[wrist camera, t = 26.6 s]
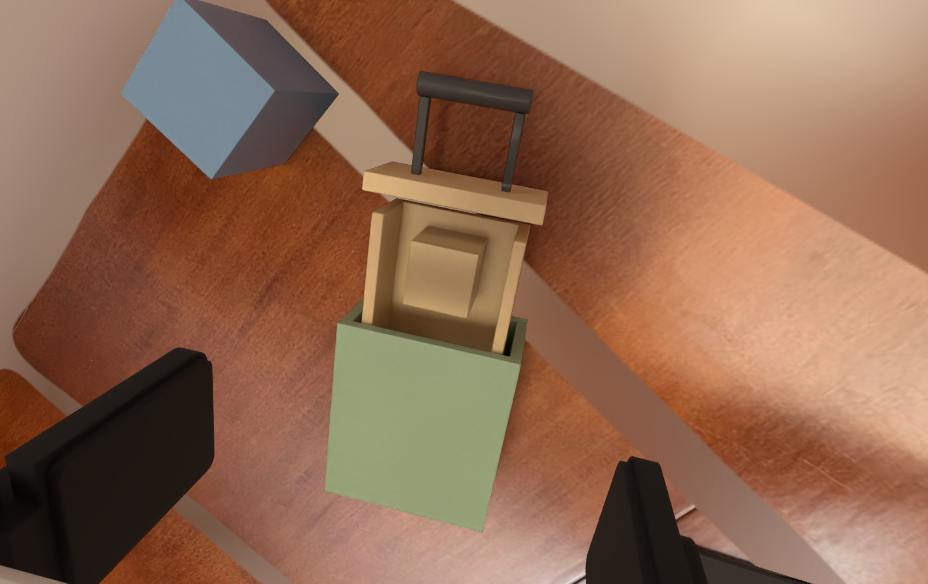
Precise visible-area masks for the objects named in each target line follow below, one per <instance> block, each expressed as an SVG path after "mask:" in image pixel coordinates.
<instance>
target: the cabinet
mask: <svg viewBox="0 0 928 584" xmlns="http://www.w3.org/2000/svg"><path fill="white" fill-rule="evenodd" d="M363 302H364V298H363V299H362V300H361V301H360V302H359V303H358V304H357V305H356V306H355V307H354V308H352V309H351V310H350V311H349V312H348V313H347V314H346V315H345V316H344V317H343V318H342V319H341V320H340V321H339V322H338V323H337V336H336V349H335V362H334V375H333V388H332V401H331V415H330V428H329V441H328V454H327V467H326V480H325V491H327V492H331V493H335V494H339V495H343V496H346V497H350V498H354V499H358V500H362V501H365V502H369V503H373V504H377V505H380V506H384V507H388V508H392V509H396V510H399V511H403V512H407V513H411V514H415V515H418V516H422V517H426V518H430V519H433V520H437V521H441V522H445V523H449V524H452V525H456V526H460V527H464V528H467V529H471V530H475V531H479V532H483V528H484V524H485V520H486V515H487V511H488V507H489V502H490V498H491V493H492V489H493V485H494V480H495V476H496V472H497V467H498V463H499V459H500V454H501V450H502V446H503V441H504V437H505V433H506V428H507V424H508V420H509V415H510V411H511V406H512V402H513V398H514V393H515V389H516V385H517V380H518V376H519V372H520V367H521V362H522V355H523V348H524V341H525V334H526V327H527V319H522V318H517V317H513V316H511V320H510V325H509V329H508V334H507V339H506V343H505V348H504V353H503V355H500V354H495V353H491V352H486V351H482V350H478V349H473V348H469V347H464V346H460V345H456V344H451V343H447V342H442V341H438V340H433V339H429V338H425V337H420V336H416V335H411V334H407V333H403V332H398V331H394V330H389V329H385V328H380V327H376V326H372V325H367V324H363V323H362V313H363Z"/></svg>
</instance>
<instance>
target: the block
mask: <svg viewBox="0 0 928 584" xmlns="http://www.w3.org/2000/svg"><path fill="white" fill-rule="evenodd" d="M487 241H488V238H484V237H480V236H475V235H470V234H466V233H461V232H456V231H451V230H447V229H442V228H437V227H432V226H427V227H426V228H424V229H423V230H422V231H421V232H420V233H419V234H418V235H417V236H416V237H415V238H414V239H412V240H411V244H410V251H409V259H408V266H407V273H406V281H405V288H404V296H403V304H405V305H410V306H414V307H419V308H423V309H427V310H432V311H436V312H440V313H445V314H449V315H454V316H458V317H462V318H468V315H469V313H470V311H471V308H472V306H473V304H474V301H475V299H476V297H477V293H478V288H479V283H480V278H481V273H482V267H483V262H484V257H485V252H486V247H487Z"/></svg>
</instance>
